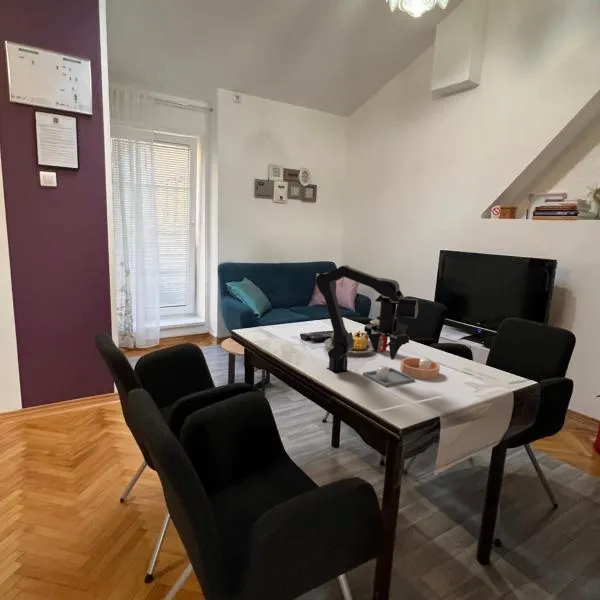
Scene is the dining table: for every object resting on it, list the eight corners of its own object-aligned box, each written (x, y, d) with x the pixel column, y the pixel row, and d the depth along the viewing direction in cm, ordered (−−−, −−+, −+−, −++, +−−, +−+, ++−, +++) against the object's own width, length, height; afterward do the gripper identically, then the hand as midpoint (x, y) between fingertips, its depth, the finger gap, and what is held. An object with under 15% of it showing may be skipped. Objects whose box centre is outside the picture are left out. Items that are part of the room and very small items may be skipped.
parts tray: (384, 388, 149) (385, 384, 149) (362, 376, 160) (362, 372, 160) (414, 382, 156) (414, 378, 156) (391, 371, 167) (391, 367, 167)
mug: (364, 349, 194) (366, 321, 192) (375, 346, 201) (377, 318, 198) (387, 356, 185) (389, 327, 183) (398, 352, 192) (400, 324, 189)
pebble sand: (424, 373, 164) (425, 362, 163) (416, 369, 168) (417, 359, 167) (432, 371, 166) (433, 361, 165) (424, 368, 170) (425, 357, 169)
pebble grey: (381, 381, 153) (382, 370, 153) (373, 377, 157) (374, 366, 156) (390, 380, 156) (391, 368, 155) (382, 376, 159) (383, 365, 159)
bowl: (419, 382, 156) (420, 372, 155) (393, 369, 168) (393, 360, 168) (446, 376, 163) (447, 367, 162) (419, 365, 175) (420, 356, 175)
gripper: (422, 318, 148) (418, 360, 151) (387, 308, 164) (384, 346, 167) (398, 321, 142) (394, 364, 145) (364, 309, 158) (361, 349, 161)
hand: (383, 355), depth 155 cm, fingers open, 9 cm apart
